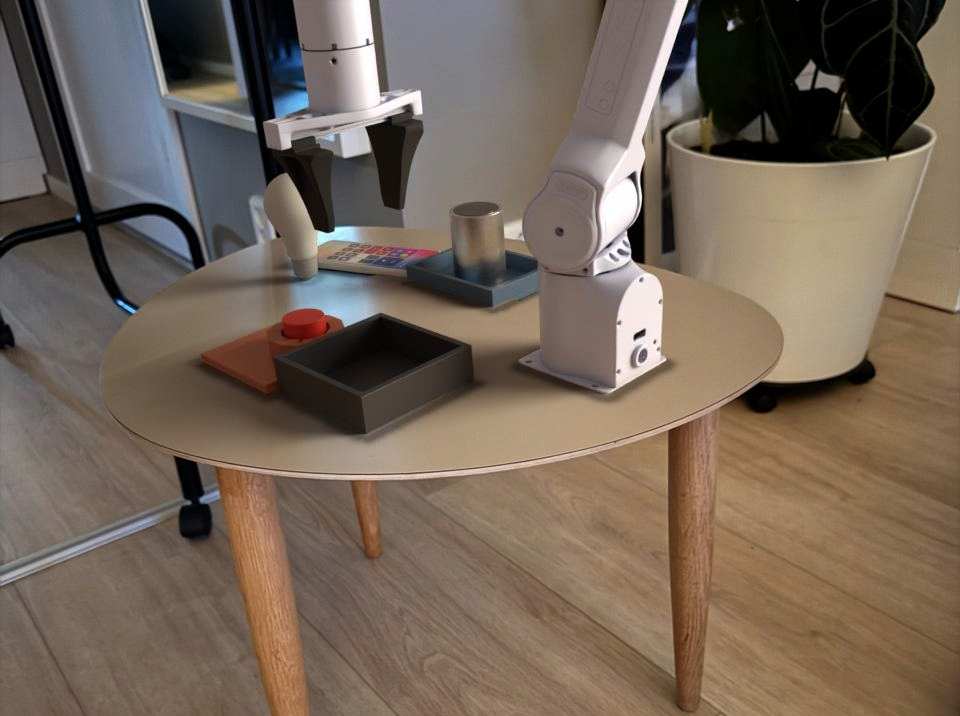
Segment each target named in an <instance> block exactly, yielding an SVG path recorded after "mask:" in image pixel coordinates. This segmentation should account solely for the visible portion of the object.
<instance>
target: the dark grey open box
mask: <svg viewBox="0 0 960 716" xmlns="http://www.w3.org/2000/svg"><path fill="white" fill-rule="evenodd" d="M273 362H274V367H275V372H276V377H277V382H278V387H279V389H278V391H279V393H282V394H284V395H286V396H288V397H290V398H292V399H294V400H296V401H298V402H300V403H302V404H304V405H306V406H308V407H310V408H312V409H314V410H316V411H318V412H320V413H322V414H324V415H326V416H329V417H330V418H333V419H335V420H336V421H338V422H341V423H342V424H344V425H347V426H349V427H350V428H351V429H352V428H353V429H354V430H357V431H359V432H361V433H363V434H365V435H368V434H370V433H371V432H374V431H376V430H378V429H380V428H382V427H384V426H386V425H388V424H390V423H391V422H394V421H396V420H398V419H399V418H401V417H404V416H406V415H408V414H409V413H412V412H414V411H415V410H417V409H420V408H421V407H424V406H425V405H428V404H429V403H431V402H434V401H435V400H438V399H439V398H442V397H443V396H445V395H447V394H450V393H452V392H453V391H455V390H457V389H460V388H461V387H463V386H465V385H467V384H470V383H472V382H473V381H475V372H474V360H473V346H472V344H469V343H466V342H464V341H461V340H458V339H457V338H456V339H455V338H453V337H450V336H448V335H445V334H441V333H439V332H436V331H433V330H431V329H428V328H425V327H422V326H420V325H416V324H414V323H411V322H409V321H406V320H403V319H400V318H397V317H395V316H392V315H390V314H386V313H384V312H378V313H375V314H374V315H371V316H368V317H366V318H363V319H362V320H359V321H357V322H354V323H352V324H348V325H347V326H344V328H342V329H339V330H337V331H334V332H332V333H330V334H327V335H325V336H322V337H320V338H317V339H315V340H313V341H310V342H308V343H305V344H303V345H300V346H298V347H296V348H293V349H291V350H288V351H286V352H283V353H281V354H279V355H276V356H274V357H273Z"/></svg>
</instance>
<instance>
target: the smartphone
mask: <svg viewBox="0 0 960 716" xmlns="http://www.w3.org/2000/svg"><path fill="white" fill-rule="evenodd" d="M317 247H318V253H317V255H316V257H317V266H318V269H324V270H325V269H326V270H327V269H328V270H335V271H341V272H343V271H344V272H351V273H359V274H360V273H361V274H368V275H379V276H381V275H383V276H389V277H396V278H397V277H398V278H407V271H406V265H408V264H411V263H413V262H416V261H419V260H421V259H424V258H426V257H429V256H432V255H434V254H437V253H439V252H441V251H440V250H436V249H427V248H416V247H408V246H398V245H390V244H388V245H387V244H381V243H380V244H378V243H370V242H361V241H351V240H340V239H332V240H331V239H330V240H327V241H325V242H323V243H321V244H320V245H317Z"/></svg>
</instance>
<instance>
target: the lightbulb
mask: <svg viewBox="0 0 960 716" xmlns="http://www.w3.org/2000/svg"><path fill="white" fill-rule="evenodd" d="M262 203H263V204H262V205H263V211H264V213H265V216H266V219H267V220H268V221H269V223H270V224H271V226H272V227H273V229H274V230H275V231H276V232H277V233H278V235H279V236H280V238H281V239H282V241H283V245H284V246H285V250H286V254H287V257H288V258H290V262H291V267H292V270H293V271H292V272H293V275H294V276H295V277H297V278H300V279H301V280H303V281H309V280H312V279H313V277H314V276H316V275H317V274H318V272H319V268H318V266H317V257H316V255H317V253H318V237H319V236H318V235H319V231H317V230H314V227H313V225H312V222H311V219H310V217H309V214H308V212H307V209H306V207H305V205H304V203H303V201H302V199H301V197H300V195H299V193H298V191H297V189H296V187H295V185H294V184H293V182H292V180H291V179H290V177H289V176H288V174H287V173H286V172H284V173H281V174H279V175H278V176H276V177H275V178H273V179H272V180H271V181H270V182H269V183H268V185H267V186H266V189H265V191H264V194H263V199H262Z"/></svg>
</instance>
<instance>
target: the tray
mask: <svg viewBox="0 0 960 716" xmlns="http://www.w3.org/2000/svg"><path fill="white" fill-rule="evenodd" d="M505 258H506V279H505V280H504V281H503V282H502V283H500V284H497V285H494V286H490V287H486V286H482V285H479V284H476V283H472V282H469V281H466V280H462V279H459V278H456V277H455V276H454V264H453V252H452V247H450V248H447V249H444V250H442V251H440V252H439V253H437V254H434V255H432V256H429V257H426V258H424V259H421V260H419V261H416V262H413V263H411V264H408V265H406V271H407V281H409V282H413V283H416V284H420V285H422V286H426V287H429V288H432V289H435V290H437V291H441V292H445V293H447V294H451V295H454V296H457V297H460V298H462V299H465V300H469V301H472V302H476V303H478V304H482V305H485V306H488V307H492V308H494V307H496V306H499V305H501V304H503V303H505V302H507V301H508V302H509V301H510V300H515V301H519V300H521V299H524V298H526V297H528V296H530V295H532V294H535V293H538V260H537V259H536V258H535V257H534V256H531V255H528V254H523V253H519V252H516V251H512V250H508V249H505Z"/></svg>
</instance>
